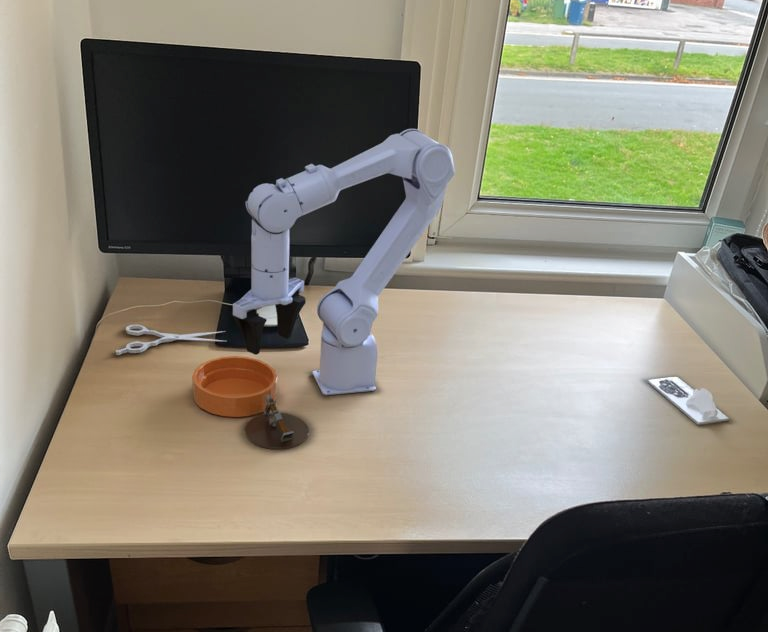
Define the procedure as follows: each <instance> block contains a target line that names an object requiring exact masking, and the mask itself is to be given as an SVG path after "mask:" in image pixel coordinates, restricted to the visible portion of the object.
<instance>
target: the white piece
mask: <svg viewBox="0 0 768 632" xmlns="http://www.w3.org/2000/svg"><path fill="white" fill-rule="evenodd" d="M647 383H648V384H649V385H650V386H651V387H652V388H654V389H655V390H656V391H657V392H658V393H660V394H661V395H662V396H663V397H664V398H665V399H667V400H668V402H669V403H670V402H671V403H672V404H673V405H674V406H675V407H676V408H678V410H680V411H681V413H683V414H684V415H685V416H687V417H688V418H689V419H690V420H691V421H693V422H694V424H696V425H697V426H698V425H707V424H714V423H721V422H727V421H729V419H730V417H728V416H727V415H726V414H724V413H723V412H722V411H721V410H720V409H718V408H717V405H716V402H715V401H714V396H713V394H712V393H711V391H709V390H708V389H707V388H705V387H700V389H698V388H696V389H694V388H693V387H691V386H690V385H688V383H686V382H684V381H683V380H682V379H681V378H680V377H678V376H669V377H662V378H661V377H660V378H653V379H652V378H651V379H647Z"/></svg>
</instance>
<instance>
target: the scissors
mask: <svg viewBox="0 0 768 632" xmlns="http://www.w3.org/2000/svg"><path fill="white" fill-rule="evenodd" d="M135 329H136V330H135ZM137 329H138V330H137ZM225 332H226V330H224V331H223V330H222V331H221V333H225ZM125 333H126V334H128V335H129V336H130V335H131V336H138V337H139V336H143V335H151V336H152V335H153V336H156V337H158V339H156V340H152V341H139V340H136V341H132V342H129V343H127V344H126V345H125V347H124V348H121V349H116V350H115V356H121V355H123V354H126V353H129V354H140V353H143V352H145V351H147V349H149V348H150V347H155V346H158V345H159V344H162V343H169V342H173V341H198V342H226V340H223V339H222V340H221V339H220V340H219V339H213V338H201V336H207V335H213V334H218V333H220V331H210V332H209V331H207V332H193V333H184V334H177V333H166V332H159V331H157V330H153V329H148V328H147V327H146V326H144V325H142V324H129V325H127V326H126V327H125ZM199 336H200V337H199ZM134 347H136V348H134ZM138 347H139V348H138Z"/></svg>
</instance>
